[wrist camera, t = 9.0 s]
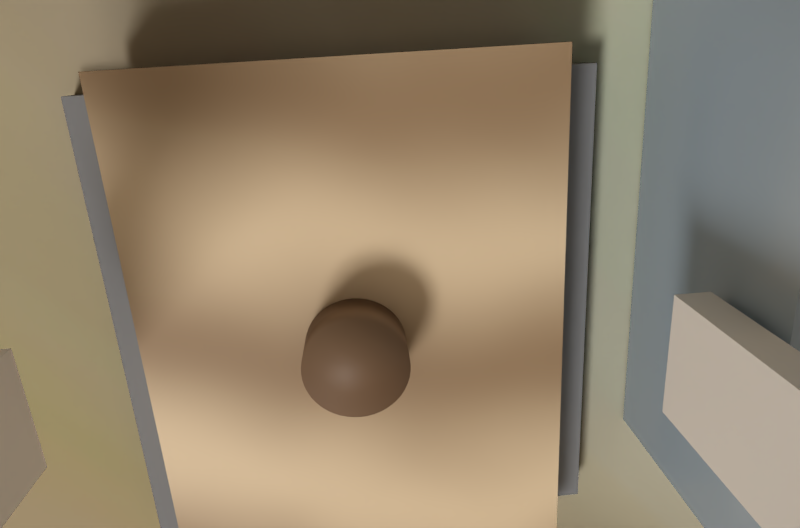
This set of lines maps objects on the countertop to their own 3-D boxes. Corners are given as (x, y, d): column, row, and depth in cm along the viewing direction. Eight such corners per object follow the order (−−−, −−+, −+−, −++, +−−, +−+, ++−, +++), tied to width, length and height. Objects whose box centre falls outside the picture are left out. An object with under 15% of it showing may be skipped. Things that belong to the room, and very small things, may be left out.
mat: (72, 95, 14) (60, 96, 13) (587, 62, 14) (597, 62, 14) (168, 518, 18) (162, 533, 17) (570, 480, 18) (577, 493, 18)
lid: (101, 71, 13) (49, 72, 11) (553, 43, 14) (593, 39, 11) (200, 544, 17) (177, 617, 15) (543, 511, 18) (570, 577, 16)
